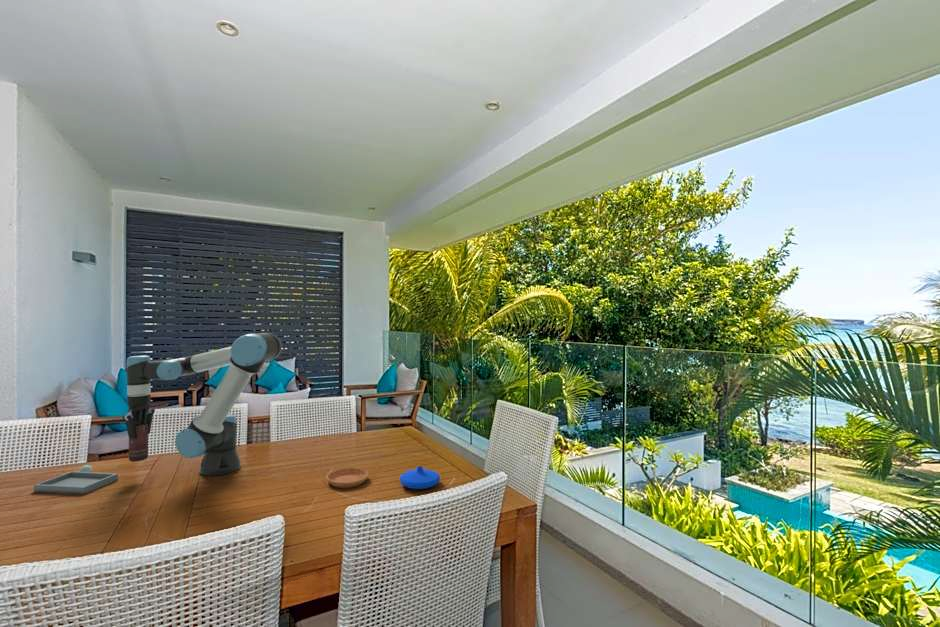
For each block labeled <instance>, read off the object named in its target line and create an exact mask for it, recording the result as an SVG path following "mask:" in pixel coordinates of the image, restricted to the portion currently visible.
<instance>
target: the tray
mask: <svg viewBox="0 0 940 627" xmlns="http://www.w3.org/2000/svg"><path fill="white" fill-rule="evenodd" d="M118 475H119V473H110V472H94V471H91V472H80V471H73V470H71V471H69V472H67V473H64V474H61V475H57V476H56V477H52V478H50V479H46V480H44V481H41V482H39V483H36V484H34V485H33V492H35V493H51V494H52V493H54V494H68V495H69V494H71V495H72V494H73V495H85V494H88V493H91V492H93V491H95V490H97V489H100V488H102V487H105V486H107V485H109V484H112V483H115V482H117V481H118V480H119V476H118Z"/></svg>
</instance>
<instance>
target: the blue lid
mask: <svg viewBox="0 0 940 627" xmlns="http://www.w3.org/2000/svg"><path fill="white" fill-rule="evenodd" d="M440 480H441V476H440V474H439V473H438V472H437V471H435V470H431V469H426V468H424V467H423V466H421V465H419V466H417V467H416V469H411V470H407V471H405V472H403V473H402V474H401V475H400V476H399V482H400V484H401V485H403V486H404V487H407V488H409V489H412V490H424V489H429V488H432V487H434V486H435V485H437V484H439V482H440Z"/></svg>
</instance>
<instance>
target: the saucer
mask: <svg viewBox="0 0 940 627" xmlns="http://www.w3.org/2000/svg"><path fill="white" fill-rule="evenodd" d="M367 479H369V472H368V471H367V470H365V469H362V468H356V467H346V468H345V467H344V468H339V469H338V468H337V469H335V470H332V471H331V472H329V473H327V475H326V481H327V483H328V484H330V485H331V486H332V487H335V488H338V489H339V488H340V489H349V488H354V487H358V486H361V485H362V484H363V483H364V482H365V481H366V480H367Z"/></svg>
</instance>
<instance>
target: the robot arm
mask: <svg viewBox="0 0 940 627" xmlns="http://www.w3.org/2000/svg"><path fill="white" fill-rule="evenodd" d="M282 349H283V344H282V341H281V339H280V337H278V336H277V335H276V334H274V333H270V332H261V333H247V334H244V335H241V336H239V337H238V338H237V339H235V340H234V341H233V343H232V344H231V346H228V347H224V348H219V349H215V350H211V351H206V352H203V353H202V352H201V353H198V354H194V355H189V356H185V357H179V358H173V359H165V360H151V357H150V355H134V356H131V355H130V356H128V357H127V359H126V367H125V369H126V391H127V392H126V394H127V398H126V401H127V402H126V404H127V406H128V413H126V415H123V416H122V419H123V421H124V423H125V426H126V431H127V434H128V435H127V436H128V439H129V438H137V433H136V429H135V426H140V425H145V424H146V423H147V425H148V435H149V434H151V430H152V424H153V417H154V414H155V411H156V410H155V408H151V406H150V405H149V404H151V401H152V395H151V394H150V393H151V392H152V390H151V389H152V387H151V386H152V385H151V384H152V383H151V381H153V380H154V381H171V380H176V379H178V378H180V377H185V376H191V375H194V374H197V373H201V372H206V371H209V370H214V369H215V370H216V369H218V368H224V367H227V366H229V367H228V369H227V370H226V372H225V374H224V376H223V377H222V379H221V381H220V382H219V383H218V385H217V387H216V389H215V390H214V392H213V394H212V395H211V397H210V398H209V400H208V402H207V403H206V404H205V407H204V409H203V410H202V412H200V414H198V415H195V416H193V418H192V419H191V421H190V423H189V425H188V426H187V427H186V428H184V429H181V430H180V431H179V432H178V433H177V434H176V436H175V439H174V441H175V442H174V444H175V447H176V450H177V452H178V453H179V454H180V455H181V456H182V457H184V458H186V459H196V458H199V457H201V456H203V457H202V460H201V462H200V466H199V474H200V475H203V476H222V475H225V474H226V475H227V474H230V473H234V472H236V471H238V470H239V469H240V468H241V466H242V465H241V464H242V461H241V459H240V455H239V453H238V450H237V429H238V428H237V425H238V422H237V416H236V415H234V414H229V413H230V412H231V410H232V408H233V407H234V405H235V404H236V402H237V401H238V399H239V397H240V395H242V392H243V391H244V389H245V387H246V386H247V385H248V382H249V381H250V379H251V378H252V376H254V375H257V374H259V373H260V372H261V369H262V368H263V366H264V364H265V363H267V362H271V361H273V360H275V359H277V358H278V357H279V356H280V355H281V353H282Z"/></svg>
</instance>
